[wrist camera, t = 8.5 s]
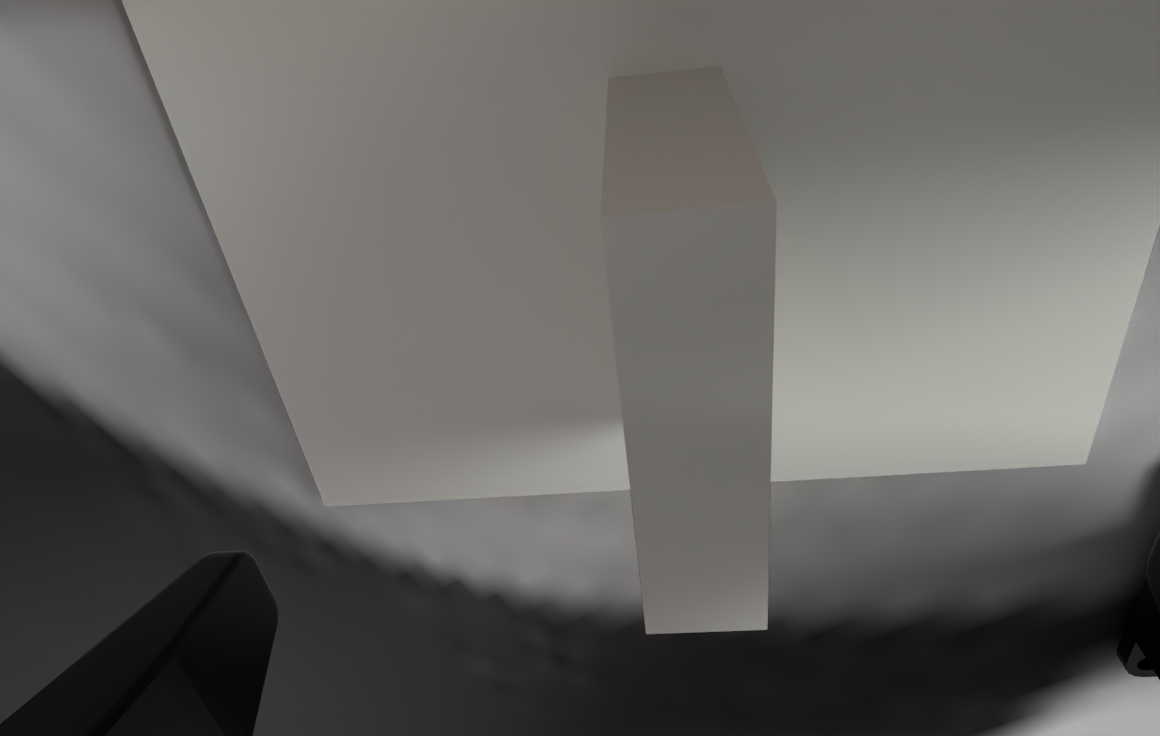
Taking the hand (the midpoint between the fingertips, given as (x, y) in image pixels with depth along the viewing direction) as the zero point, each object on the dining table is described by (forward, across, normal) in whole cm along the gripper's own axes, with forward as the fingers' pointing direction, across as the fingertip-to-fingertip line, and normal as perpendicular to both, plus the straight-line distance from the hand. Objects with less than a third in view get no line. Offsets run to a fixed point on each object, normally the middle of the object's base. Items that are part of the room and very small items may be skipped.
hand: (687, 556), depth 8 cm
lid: (+7, 0, 0) cm, 7 cm away
